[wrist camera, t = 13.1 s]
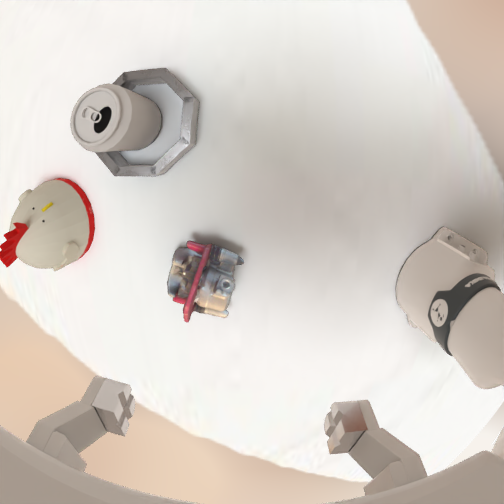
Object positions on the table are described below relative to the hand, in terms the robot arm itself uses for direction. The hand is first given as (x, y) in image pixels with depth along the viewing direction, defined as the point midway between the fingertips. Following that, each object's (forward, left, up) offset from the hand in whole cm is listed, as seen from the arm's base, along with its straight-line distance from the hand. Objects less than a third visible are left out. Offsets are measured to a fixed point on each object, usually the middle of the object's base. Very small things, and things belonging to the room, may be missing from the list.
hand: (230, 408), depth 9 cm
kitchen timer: (+30, +2, -29) cm, 42 cm away
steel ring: (+14, -12, -29) cm, 35 cm away
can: (+16, -12, -29) cm, 36 cm away
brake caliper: (+5, +8, -29) cm, 31 cm away
